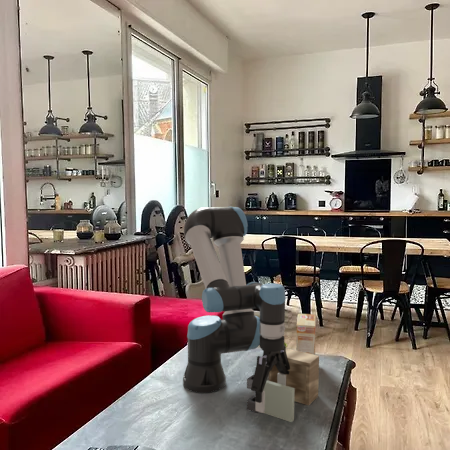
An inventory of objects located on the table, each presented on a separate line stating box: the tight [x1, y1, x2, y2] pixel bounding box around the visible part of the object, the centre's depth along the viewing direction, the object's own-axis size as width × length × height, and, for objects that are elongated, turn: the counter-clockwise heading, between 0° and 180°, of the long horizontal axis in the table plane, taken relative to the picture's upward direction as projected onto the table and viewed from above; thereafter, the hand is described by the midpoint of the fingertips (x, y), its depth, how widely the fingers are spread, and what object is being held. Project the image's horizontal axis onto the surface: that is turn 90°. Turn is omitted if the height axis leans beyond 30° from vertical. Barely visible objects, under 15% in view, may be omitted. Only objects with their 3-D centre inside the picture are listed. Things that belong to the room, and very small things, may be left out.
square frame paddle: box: [246, 374, 295, 423], centre depth 139 cm, size 15×4×10 cm, turn 55°
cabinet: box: [267, 347, 320, 406], centre depth 149 cm, size 15×14×14 cm
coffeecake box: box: [295, 313, 317, 355], centre depth 172 cm, size 15×7×20 cm, turn 168°
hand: (271, 402), depth 139 cm, fingers open, 13 cm apart
